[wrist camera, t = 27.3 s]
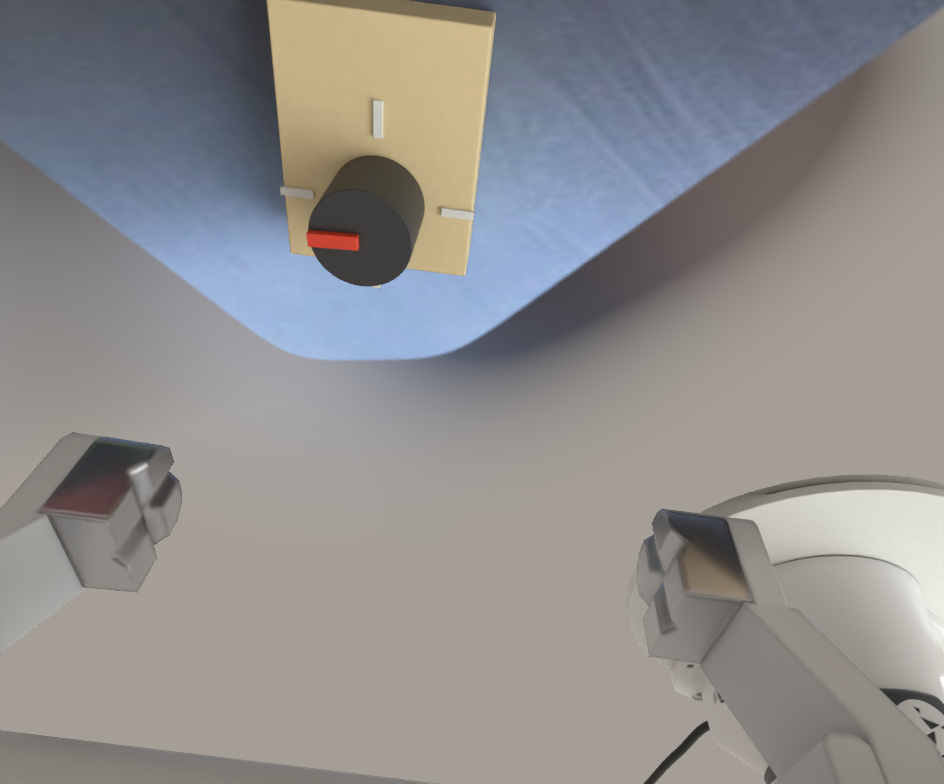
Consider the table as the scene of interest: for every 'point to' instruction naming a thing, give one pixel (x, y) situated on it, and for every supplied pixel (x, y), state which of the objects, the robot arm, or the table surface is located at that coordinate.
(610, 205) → the table surface
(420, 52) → the panel
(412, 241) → the dial
